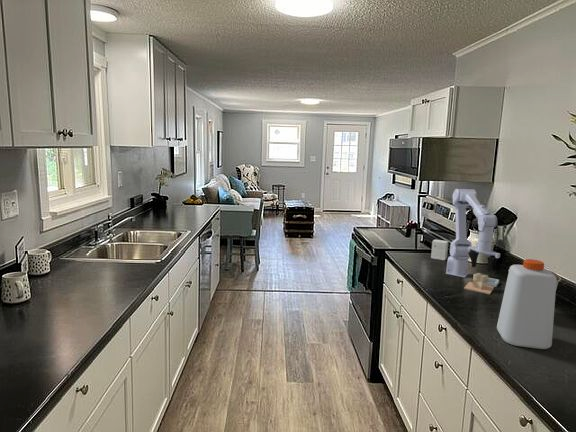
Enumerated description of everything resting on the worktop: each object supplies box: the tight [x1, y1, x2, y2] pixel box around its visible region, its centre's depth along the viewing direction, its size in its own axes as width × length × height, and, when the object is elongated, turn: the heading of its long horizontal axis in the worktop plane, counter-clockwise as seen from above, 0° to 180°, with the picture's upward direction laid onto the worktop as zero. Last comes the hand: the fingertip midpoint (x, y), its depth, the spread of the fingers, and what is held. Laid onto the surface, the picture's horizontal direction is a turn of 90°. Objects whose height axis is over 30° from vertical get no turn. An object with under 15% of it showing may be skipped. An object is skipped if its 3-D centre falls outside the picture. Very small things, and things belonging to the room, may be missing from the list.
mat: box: [463, 281, 495, 295], centre depth 195 cm, size 11×11×1 cm
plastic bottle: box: [496, 258, 557, 350], centre depth 143 cm, size 15×15×28 cm
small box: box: [430, 239, 449, 261], centre depth 244 cm, size 8×6×10 cm
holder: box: [487, 277, 500, 288], centre depth 204 cm, size 8×8×2 cm
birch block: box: [472, 272, 489, 289], centre depth 195 cm, size 4×4×6 cm
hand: (481, 269), depth 194 cm, fingers open, 7 cm apart
